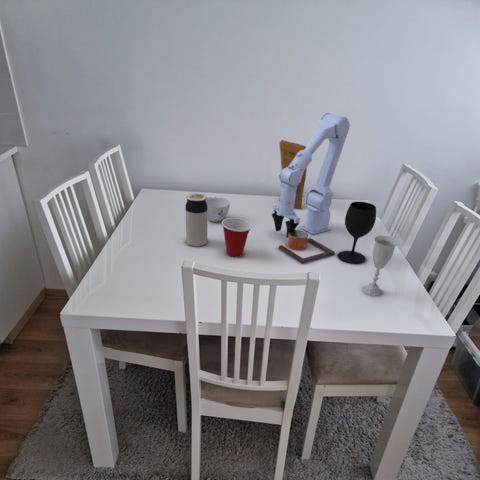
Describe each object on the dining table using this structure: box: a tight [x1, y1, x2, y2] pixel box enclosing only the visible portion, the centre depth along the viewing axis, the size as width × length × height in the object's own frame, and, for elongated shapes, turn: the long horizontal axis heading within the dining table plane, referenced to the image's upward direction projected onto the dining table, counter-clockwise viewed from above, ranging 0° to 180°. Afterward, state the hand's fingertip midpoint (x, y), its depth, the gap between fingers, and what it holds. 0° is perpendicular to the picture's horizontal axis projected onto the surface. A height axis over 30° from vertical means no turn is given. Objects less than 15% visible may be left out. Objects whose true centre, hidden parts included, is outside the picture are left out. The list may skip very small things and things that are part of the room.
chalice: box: [363, 235, 399, 296], centre depth 131 cm, size 7×7×18 cm
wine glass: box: [337, 201, 377, 265], centre depth 150 cm, size 10×10×20 cm
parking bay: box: [278, 237, 336, 265], centre depth 158 cm, size 16×14×1 cm
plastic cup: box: [221, 217, 253, 258], centre depth 151 cm, size 11×11×12 cm
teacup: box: [206, 196, 231, 223], centre depth 178 cm, size 15×12×8 cm
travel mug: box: [185, 192, 208, 247], centre depth 155 cm, size 8×8×18 cm
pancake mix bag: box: [278, 139, 308, 210], centre depth 193 cm, size 7×19×28 cm, turn 30°
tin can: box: [286, 229, 309, 251], centre depth 161 cm, size 8×8×5 cm
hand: (283, 234), depth 167 cm, fingers open, 7 cm apart
